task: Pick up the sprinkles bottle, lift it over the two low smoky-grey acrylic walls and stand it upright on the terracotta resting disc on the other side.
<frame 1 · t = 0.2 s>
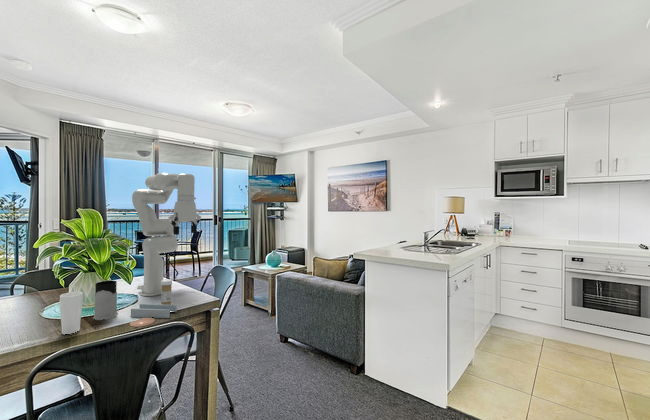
hand: (185, 233, 143), 36 cm above the table, tool pointing down, fingers open, 9 cm apart
glass holder: (108, 314, 131), on the table
sprinkles bottle: (166, 307, 141), on the table
acrylic walls: (154, 314, 132), on the table
resting disc: (142, 322, 123), on the table
drinking glass: (70, 332, 112), on the table
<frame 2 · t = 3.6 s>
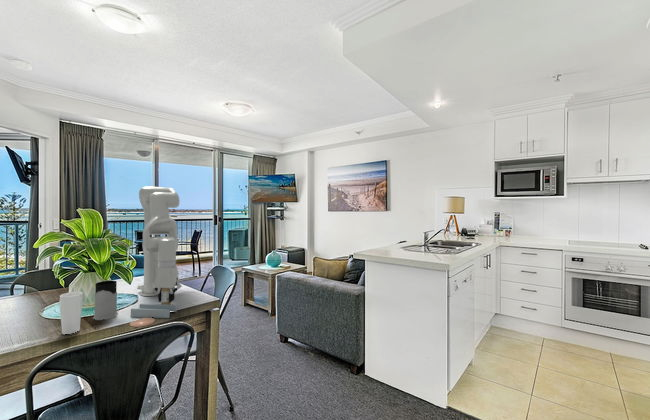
hand: (166, 300, 141), 3 cm above the table, tool pointing down, fingers closed on sprinkles bottle, 4 cm apart
sprinkles bottle: (166, 307, 141), on the table, touching gripper
everything else where it was.
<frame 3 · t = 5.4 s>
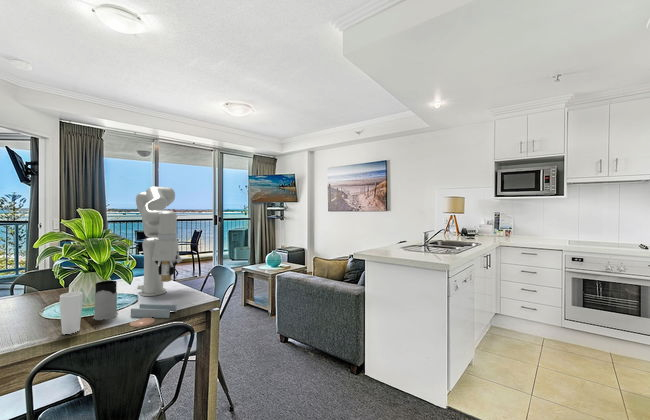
hand: (166, 273, 141), 16 cm above the table, tool pointing down, fingers closed on sprinkles bottle, 4 cm apart
sprinkles bottle: (166, 281, 142), point 13 cm above the table, touching gripper
everything else where it was.
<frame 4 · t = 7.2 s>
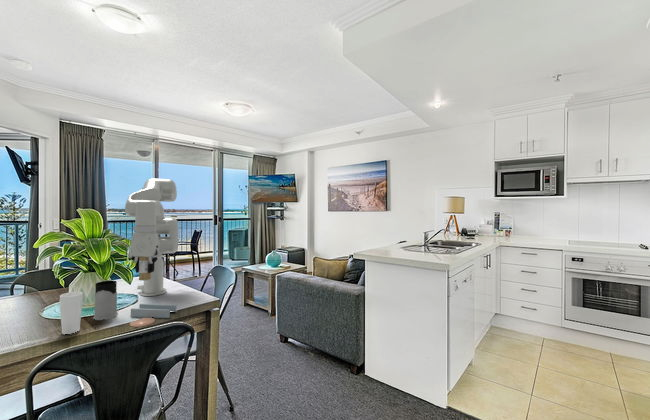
hand: (144, 271, 124), 22 cm above the table, tool pointing down, fingers closed on sprinkles bottle, 4 cm apart
sprinkles bottle: (144, 280, 124), point 18 cm above the table, touching gripper
everything else where it was.
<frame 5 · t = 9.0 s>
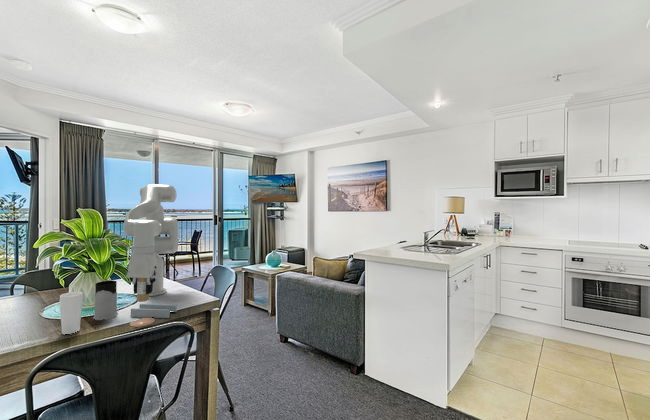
hand: (143, 292, 123), 13 cm above the table, tool pointing down, fingers closed on sprinkles bottle, 4 cm apart
sprinkles bottle: (142, 300, 123), point 9 cm above the table, touching gripper
everything else where it was.
when the fingers open (5 cm above the table, at t = 10.8 s): sprinkles bottle drops 1 cm, resting on resting disc.
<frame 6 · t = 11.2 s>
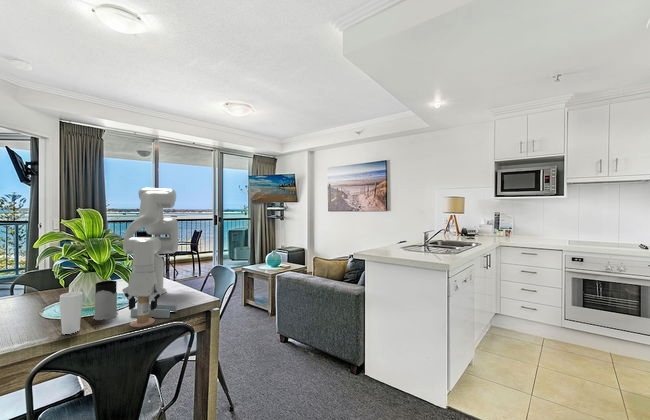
hand: (142, 308, 123), 6 cm above the table, tool pointing down, fingers open, 8 cm apart
sprinkles bottle: (142, 321, 123), resting on resting disc
everything else where it was.
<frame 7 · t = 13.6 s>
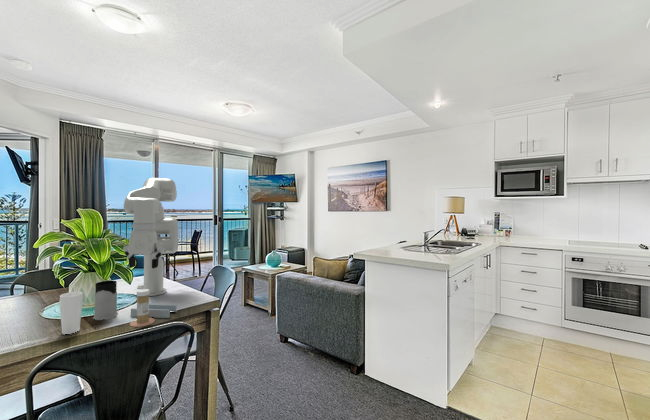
hand: (143, 267, 124), 24 cm above the table, tool pointing down, fingers open, 9 cm apart
nothing on the table moved.
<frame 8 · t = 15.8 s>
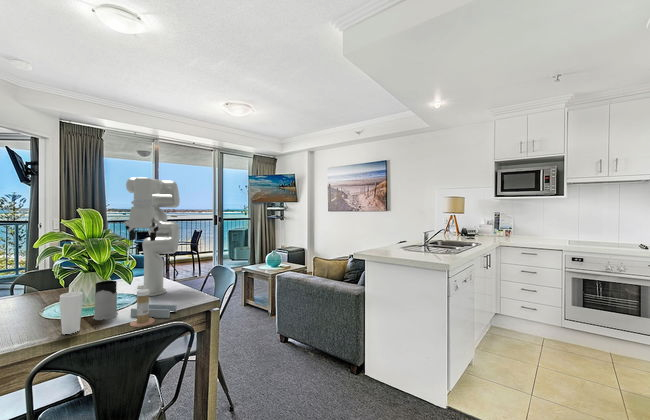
hand: (142, 240, 136), 33 cm above the table, tool pointing down, fingers open, 9 cm apart
nothing on the table moved.
at the end: sprinkles bottle 0.2 cm off-centre on the resting disc, point 0.2 cm above the resting disc's base; sprinkles bottle tilted 0°; the gripper is holding nothing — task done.
